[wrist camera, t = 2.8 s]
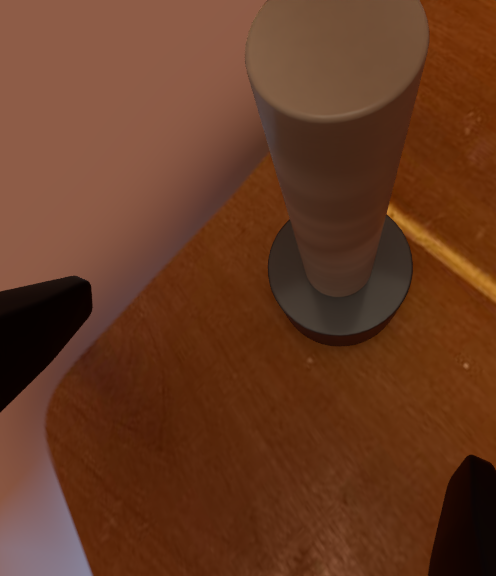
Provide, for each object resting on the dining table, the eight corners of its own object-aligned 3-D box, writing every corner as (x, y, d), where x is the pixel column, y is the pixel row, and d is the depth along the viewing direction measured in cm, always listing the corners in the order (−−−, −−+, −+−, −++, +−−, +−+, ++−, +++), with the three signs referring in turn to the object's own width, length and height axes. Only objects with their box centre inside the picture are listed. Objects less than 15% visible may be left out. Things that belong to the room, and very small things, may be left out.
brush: (317, 368, 21) (255, 304, 6) (259, 268, 23) (93, 13, 7) (424, 308, 21) (657, 71, 6) (358, 211, 22) (397, -181, 7)
